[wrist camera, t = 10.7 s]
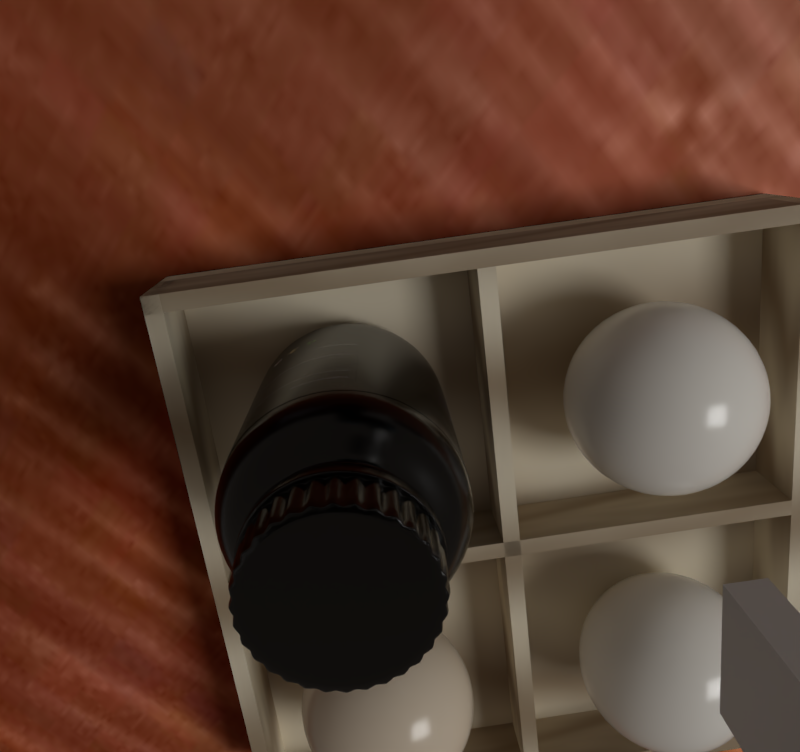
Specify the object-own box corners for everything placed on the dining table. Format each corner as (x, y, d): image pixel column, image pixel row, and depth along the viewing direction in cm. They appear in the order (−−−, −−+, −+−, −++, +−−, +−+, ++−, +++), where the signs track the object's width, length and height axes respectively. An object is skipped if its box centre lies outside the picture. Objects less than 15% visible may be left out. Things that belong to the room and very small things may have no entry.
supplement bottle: (478, 429, 27) (557, 643, 16) (329, 520, 28) (302, 782, 17) (377, 278, 25) (385, 399, 14) (219, 382, 26) (107, 574, 15)
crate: (167, 276, 26) (139, 296, 23) (765, 193, 26) (824, 201, 23) (277, 751, 33) (269, 819, 30) (750, 679, 33) (795, 739, 30)
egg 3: (554, 552, 29) (607, 661, 23) (710, 530, 29) (803, 631, 23) (564, 681, 31) (614, 811, 25) (709, 659, 31) (795, 783, 25)
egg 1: (294, 591, 29) (279, 710, 23) (452, 568, 29) (478, 680, 23) (320, 717, 31) (312, 858, 25) (467, 695, 31) (495, 829, 25)
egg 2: (537, 297, 26) (593, 345, 20) (712, 272, 26) (821, 312, 20) (548, 458, 28) (602, 547, 22) (711, 435, 28) (809, 516, 22)
